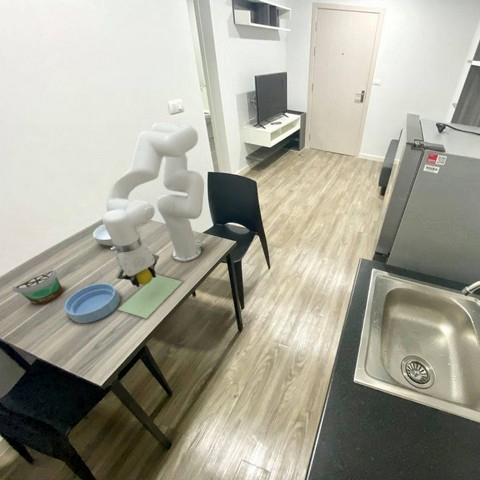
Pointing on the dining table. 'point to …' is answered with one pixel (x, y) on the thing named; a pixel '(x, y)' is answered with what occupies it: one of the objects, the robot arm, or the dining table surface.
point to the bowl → (92, 303)
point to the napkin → (150, 296)
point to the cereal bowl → (102, 236)
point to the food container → (41, 288)
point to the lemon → (144, 277)
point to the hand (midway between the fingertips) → (145, 280)
